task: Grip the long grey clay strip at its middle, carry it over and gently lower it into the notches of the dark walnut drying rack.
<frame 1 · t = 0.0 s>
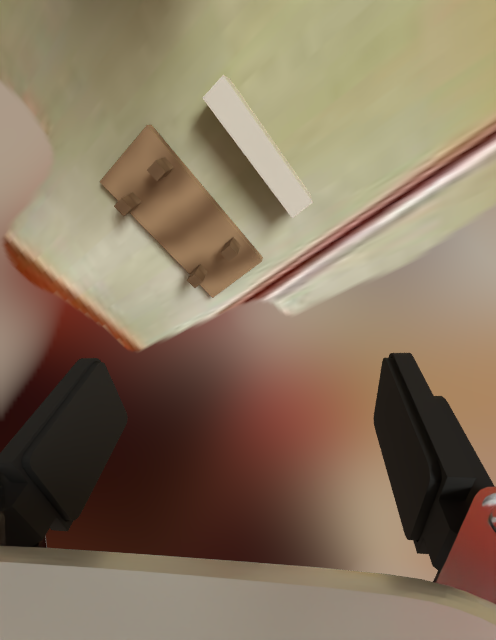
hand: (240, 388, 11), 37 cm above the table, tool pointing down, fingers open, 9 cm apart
drying rack: (187, 220, 46), on the table
clay strip: (263, 149, 40), on the table
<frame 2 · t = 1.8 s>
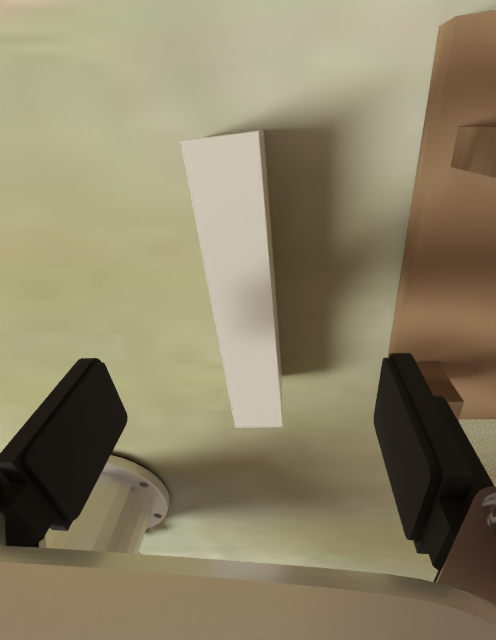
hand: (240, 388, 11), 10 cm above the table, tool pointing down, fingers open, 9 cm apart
drying rack: (492, 265, 18), on the table
clay strip: (251, 278, 20), on the table
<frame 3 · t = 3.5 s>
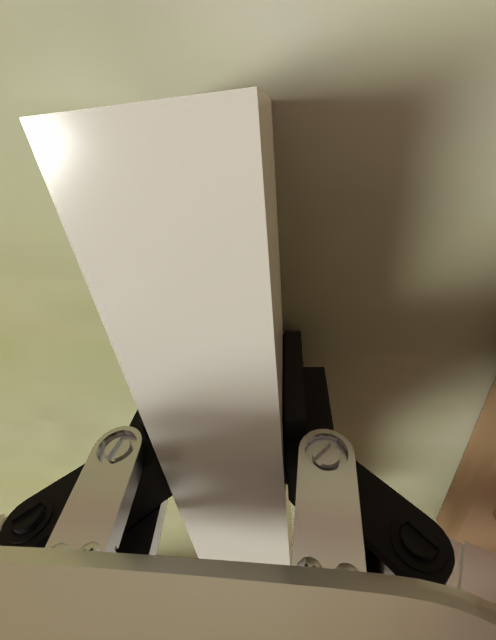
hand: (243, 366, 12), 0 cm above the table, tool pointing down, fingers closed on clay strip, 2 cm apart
clay strip: (244, 357, 12), on the table, touching gripper
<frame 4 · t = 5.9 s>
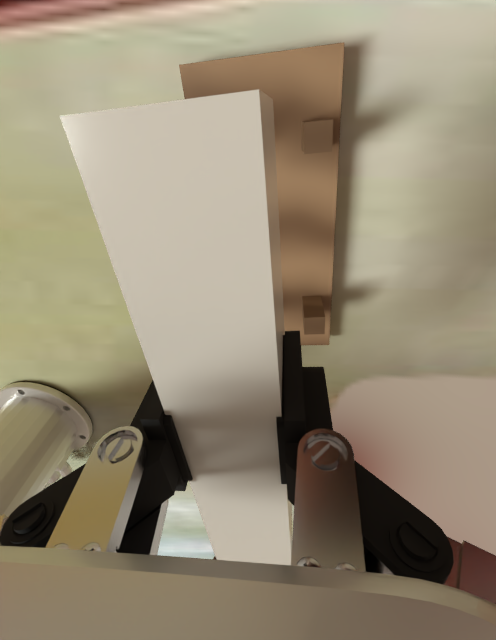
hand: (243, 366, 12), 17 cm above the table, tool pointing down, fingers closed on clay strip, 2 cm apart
drying rack: (270, 227, 26), on the table
clay strip: (248, 341, 13), point 16 cm above the table, touching gripper
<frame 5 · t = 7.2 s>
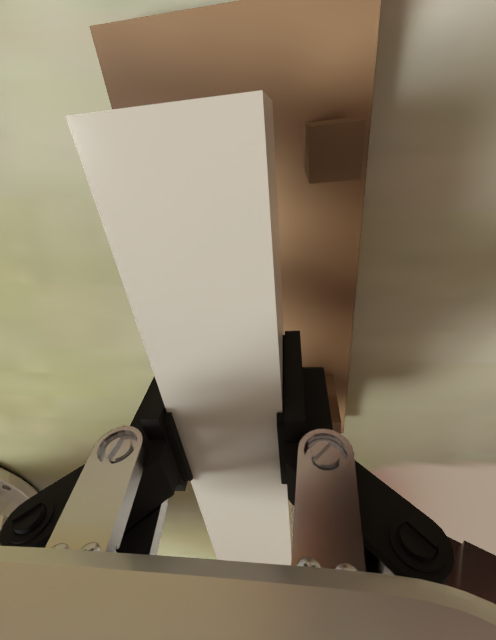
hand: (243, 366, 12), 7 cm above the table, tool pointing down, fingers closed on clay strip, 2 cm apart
drying rack: (258, 280, 18), on the table
clay strip: (247, 340, 13), point 6 cm above the table, touching gripper
when the fingers open (3 cm above the table, at t = 8.3 s): clay strip stays where it is, resting on drying rack.
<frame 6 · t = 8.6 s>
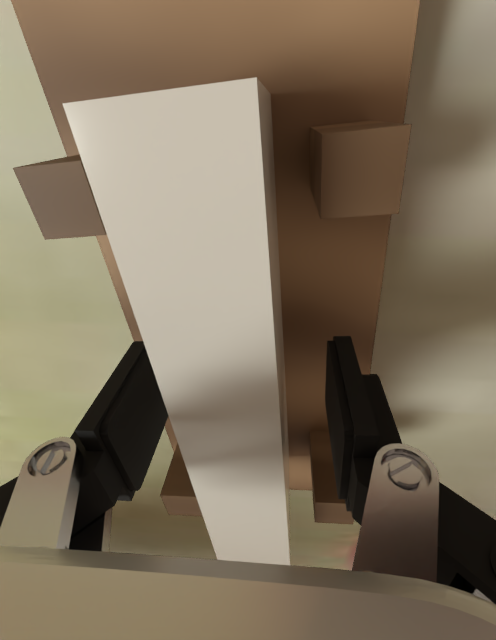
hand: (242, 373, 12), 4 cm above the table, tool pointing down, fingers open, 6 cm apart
drying rack: (251, 319, 15), on the table
clay strip: (246, 335, 13), point 1 cm above the table, touching drying rack
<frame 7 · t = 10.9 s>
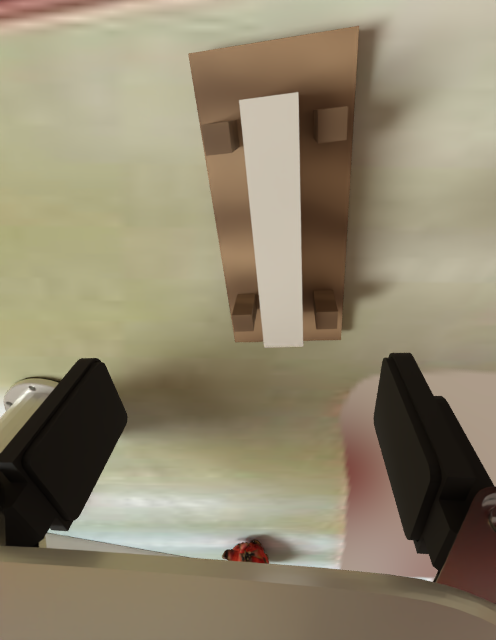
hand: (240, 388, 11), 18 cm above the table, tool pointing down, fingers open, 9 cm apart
drying rack: (280, 220, 26), on the table
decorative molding: (118, 551, 69), on the table
dragon fruit: (249, 544, 59), on the table
clay strip: (279, 224, 25), point 1 cm above the table, touching drying rack
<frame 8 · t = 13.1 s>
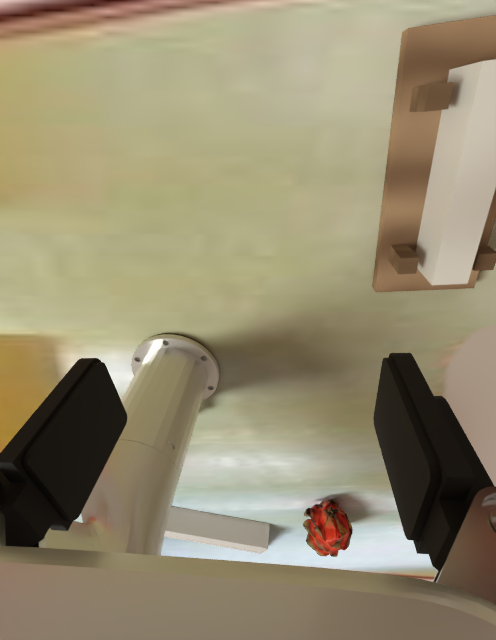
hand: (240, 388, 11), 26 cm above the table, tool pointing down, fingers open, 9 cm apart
drying rack: (440, 178, 30), on the table
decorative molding: (190, 517, 72), on the table
dragon fruit: (325, 505, 63), on the table
clay strip: (446, 179, 29), point 1 cm above the table, touching drying rack
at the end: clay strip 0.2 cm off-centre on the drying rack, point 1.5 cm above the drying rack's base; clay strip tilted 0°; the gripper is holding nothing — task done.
